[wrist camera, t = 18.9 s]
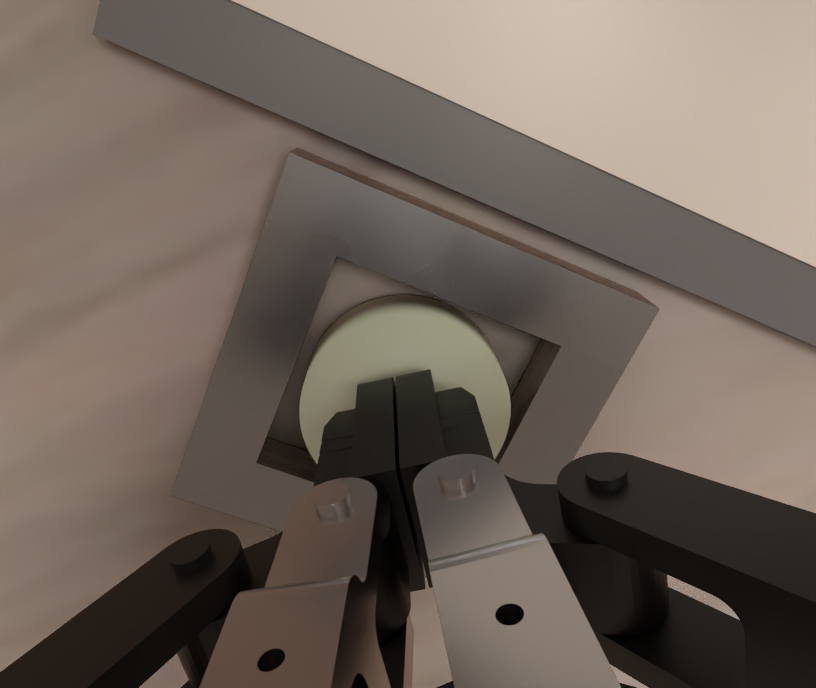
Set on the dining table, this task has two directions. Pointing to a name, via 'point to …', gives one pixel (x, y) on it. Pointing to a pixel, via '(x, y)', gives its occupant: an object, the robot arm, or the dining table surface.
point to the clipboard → (553, 116)
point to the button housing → (423, 269)
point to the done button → (402, 361)
